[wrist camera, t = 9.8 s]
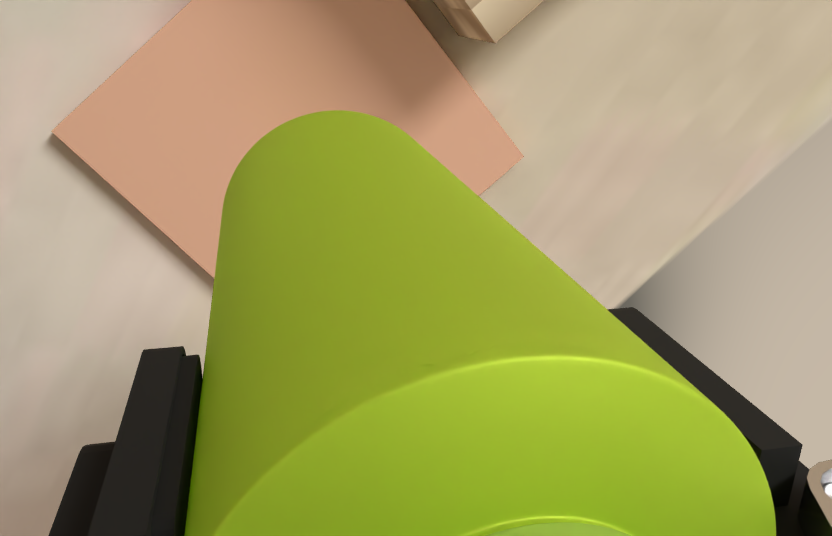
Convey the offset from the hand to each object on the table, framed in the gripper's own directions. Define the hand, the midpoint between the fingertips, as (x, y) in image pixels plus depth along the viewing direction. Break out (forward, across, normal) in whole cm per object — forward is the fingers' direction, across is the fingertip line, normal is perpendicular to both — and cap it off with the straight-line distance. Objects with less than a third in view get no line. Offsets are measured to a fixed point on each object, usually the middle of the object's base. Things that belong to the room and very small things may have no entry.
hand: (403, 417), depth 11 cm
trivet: (+22, 0, 0) cm, 22 cm away
